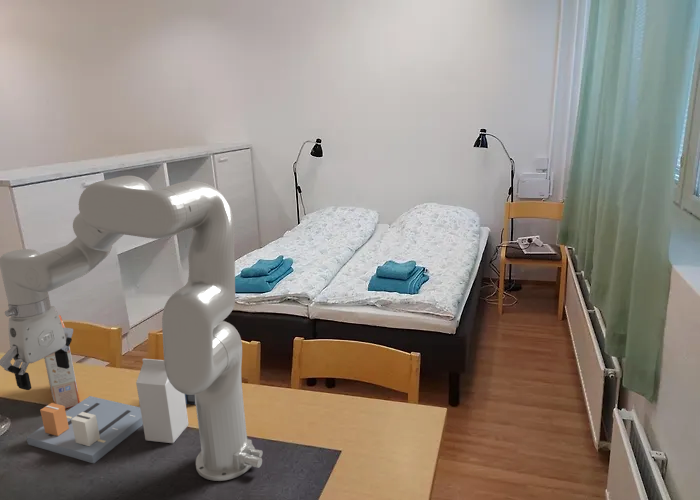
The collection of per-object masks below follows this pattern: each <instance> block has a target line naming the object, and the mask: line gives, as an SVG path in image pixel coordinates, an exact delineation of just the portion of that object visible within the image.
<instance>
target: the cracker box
mask: <svg viewBox="0 0 700 500" xmlns="http://www.w3.org/2000/svg"><path fill="white" fill-rule="evenodd" d="M58 315H59V318H60V320H61V323H62V326H63V327H64V328H66V326H65V324H64V321H63V318H62V315H60V314H58ZM70 346H71V345H69V351H68V352H67V354H68V360H69V368H68V369H65V368H60V367H57V363H56V358H55V352H54V353H52V354H50V355H48V356H46V357H44V358H43V360H44V363H45V368H46V375H47V378H48V384H49V388H50V393H51V397H52V400H53V403H54V404H59V405H63V406H65V410H67V409H71V408H72V407H74V406H75V405H77V404H78V403H80V402H81V401H80V396H79V392H78V391H79V390H78V386H77V381H76V379H77V378H76V373H75V370H74V364H73V359H72V353H71V347H70Z"/></svg>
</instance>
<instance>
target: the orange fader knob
mask: <svg viewBox="0 0 700 500" xmlns="http://www.w3.org/2000/svg"><path fill="white" fill-rule="evenodd" d="M39 411H40V415H41V420H42V423H43V426H44V429H45V433H48V434H52V435H56V436H59V435H60V434H62V433H63V432H65V431H66V430H68V429H69V426H68V421H67V416H66V411H67V410H66V409H65V406H63V405H59V404H54V402H51V403H48V405H46V406H44V407H43V408H41V409H40V410H39Z"/></svg>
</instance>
